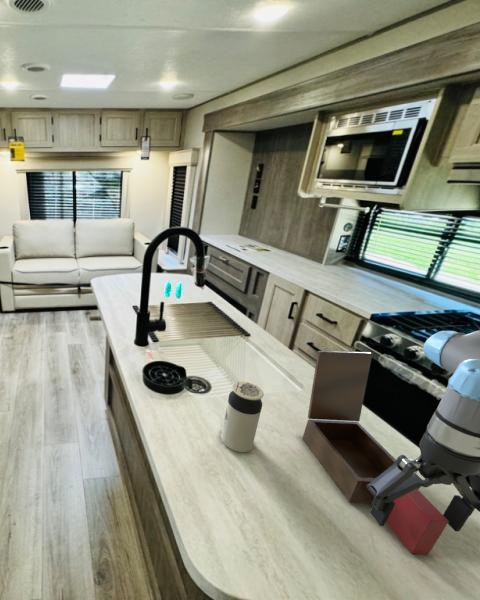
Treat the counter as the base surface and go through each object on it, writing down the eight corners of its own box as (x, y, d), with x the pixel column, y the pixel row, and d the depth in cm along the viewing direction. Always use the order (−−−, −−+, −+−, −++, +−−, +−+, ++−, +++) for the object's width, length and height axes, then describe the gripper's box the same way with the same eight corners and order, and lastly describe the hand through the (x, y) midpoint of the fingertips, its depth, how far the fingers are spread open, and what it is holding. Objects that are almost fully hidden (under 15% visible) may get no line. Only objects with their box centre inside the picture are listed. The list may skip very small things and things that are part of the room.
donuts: (165, 294, 199) (166, 279, 196) (181, 295, 196) (183, 280, 192) (163, 299, 191) (164, 284, 187) (180, 301, 187) (182, 285, 184)
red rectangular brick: (397, 518, 68) (415, 486, 64) (428, 555, 61) (449, 521, 57) (382, 517, 68) (399, 485, 64) (411, 553, 61) (431, 520, 58)
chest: (409, 506, 70) (421, 484, 68) (348, 502, 71) (358, 480, 69) (350, 441, 87) (357, 421, 85) (302, 438, 89) (308, 419, 86)
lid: (372, 353, 80) (355, 345, 86) (319, 351, 82) (306, 344, 87) (359, 421, 84) (343, 409, 90) (309, 419, 86) (296, 407, 91)
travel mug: (255, 440, 88) (268, 388, 82) (247, 458, 83) (260, 403, 76) (226, 426, 93) (236, 376, 87) (216, 442, 88) (226, 390, 81)
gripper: (397, 456, 53) (360, 536, 61) (565, 464, 50) (504, 547, 58) (364, 423, 60) (334, 499, 68) (510, 429, 57) (462, 507, 65)
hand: (413, 521), depth 63 cm, fingers open, 13 cm apart
